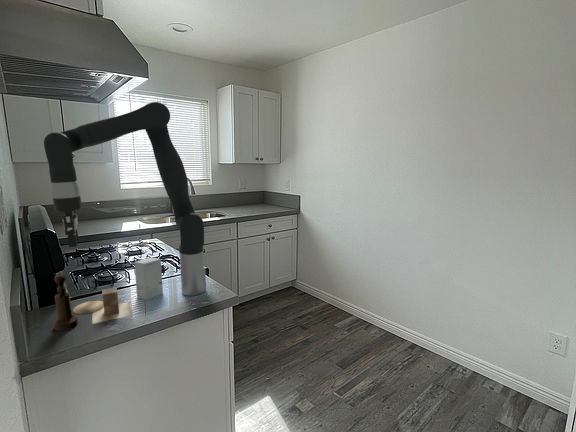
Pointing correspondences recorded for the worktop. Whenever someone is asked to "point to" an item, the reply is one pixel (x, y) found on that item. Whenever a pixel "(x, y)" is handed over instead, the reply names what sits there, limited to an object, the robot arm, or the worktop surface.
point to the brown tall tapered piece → (63, 307)
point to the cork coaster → (88, 307)
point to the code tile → (100, 316)
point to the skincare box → (148, 278)
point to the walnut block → (110, 301)
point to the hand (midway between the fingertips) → (74, 243)
